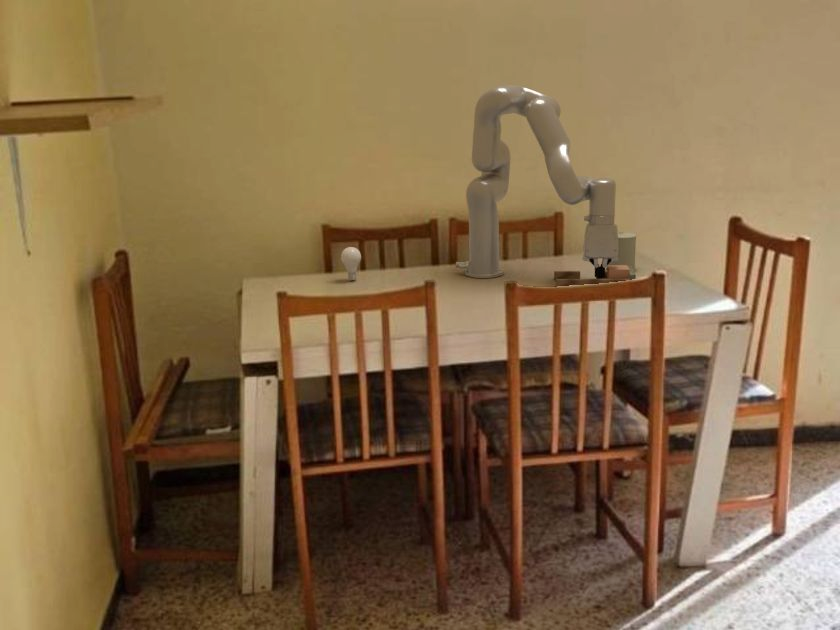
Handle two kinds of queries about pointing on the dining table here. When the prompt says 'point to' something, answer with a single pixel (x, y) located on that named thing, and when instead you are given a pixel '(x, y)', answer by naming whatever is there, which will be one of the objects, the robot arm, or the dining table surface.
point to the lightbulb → (351, 261)
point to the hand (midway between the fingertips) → (599, 279)
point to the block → (617, 272)
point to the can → (626, 250)
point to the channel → (574, 279)
